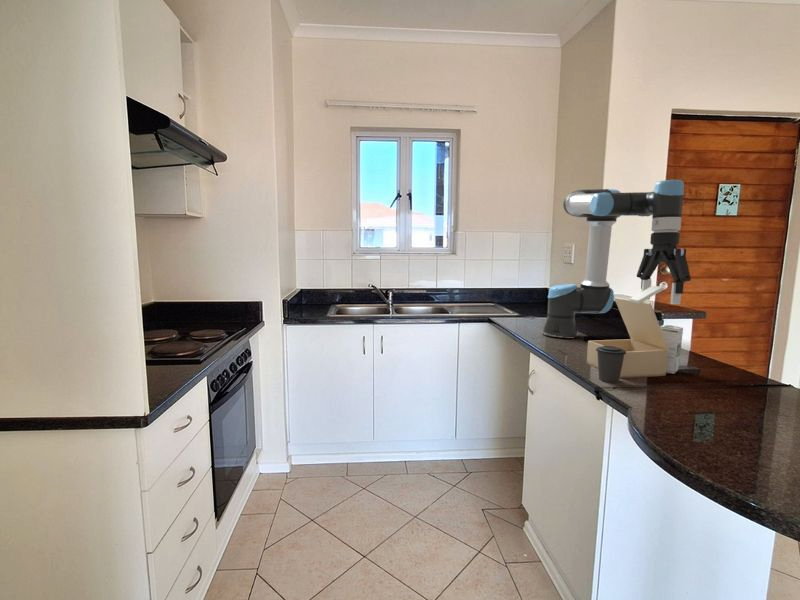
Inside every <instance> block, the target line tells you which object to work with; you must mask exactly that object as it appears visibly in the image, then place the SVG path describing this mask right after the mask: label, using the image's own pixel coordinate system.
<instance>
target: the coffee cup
mask: <svg viewBox="0 0 800 600" xmlns="http://www.w3.org/2000/svg"><path fill="white" fill-rule="evenodd" d="M596 351H597V356H598V368H597V369H598V370H597V371H598V372H597V373H598V379H599V380H600V381H601V382H606V383H611V384H615V383H619V382H620V379H621V378H620V374H621V369H622V364H623V359H624V354H626V352H625V350H623V349H621V348H618V347H613V346H602V347H597V349H596Z"/></svg>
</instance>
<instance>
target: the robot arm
mask: <svg viewBox="0 0 800 600" xmlns="http://www.w3.org/2000/svg"><path fill="white" fill-rule="evenodd" d="M684 185H685V183H684V181H683V180H681V179H665V180H660V181H657V182H656V183H655V185H654V189H653V190H652V191H647V192H645V191H644V192H641V191H638V192H634V191H633V192H621V191H620V190H617V189H613V188H612V189H610V188H603V189H602V188H600V189H599V188H598V189H594V188H593V189H577V190H574V191H572V192H569V194H567V195H566V196H565V198H564V200H563V202H562V206H563V207H562V208H563V210H564V212H565V213H566V214H568V215H569V216H572V217H577V218H586V223H587V224H588V225H589V231H588V232H589V233H588V241H587V242H588V243H587V252H586V263H585V272H584V273H585V275H584V279H583V280H582V281H581V282H580V286H577V284H575V283H569V284H568V283H567V284H556V285H552V286H550V288H549V289H548V295H547V316H546V320H545V323H544V325H543V328H542V333H543V332H545V333H548V334H551V335H556V336H563V337H577V336H578V337H579V330H578V326H577V323H576V320H575V318H576V314H595V315H597V314H605V313H607V312H609V311H610V310H611V308H612V307H613V303H614V301H615V299H614V298H615V295H614V293H615V292H614V290H613V288H612V287H610V283H609V282H608V281H607V277H608V266H609V257H610V248H611V247H610V246H611V238H612V229H613V226H614V224H616V222H617V221H618V220H617V219H618V218H620V217H621V216H629V217H633V216H637V217H650V216H651V217H652V219H651V220H652V221H651V231H652V233H651V234H650V241H649V242H650V245H652V248H644V249H643V256H642V259H641V262H640V263H639V267H638V270H637V273H636V277H637V278H639V279H640V280H641V282H640V289H641V292H642V291H644V290H646V289H648V288H649V287H651V286H652V278H651V277H652V275H653V274H654V272H655V271H656V269H657V267H658V266H659V265H660V264H662V263H664V264H665V265H667V267H668V270H669V272H670V274H671V277H672V278H673V279H672V280H673V281H672V283H671V293H670V305H681V301H682V300H681V299H682V294H683V293H684V284H685V282H690V281H691V280H692V279H691V274H690V270H689V269H690V268H689V265H688V260H687V257H686V256H687V249H686V248H677V246H678V245H679V244H680V239H681V233H680V232H679V231H681V225H682V214H683V205H684V195H685V192H684V191H685V190H684V189H685V187H684ZM647 300H648V301H650V300H651V297H650V298H648V299H646V300H645V301H647ZM578 337H577V338H578Z"/></svg>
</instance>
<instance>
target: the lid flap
mask: <svg viewBox="0 0 800 600" xmlns="http://www.w3.org/2000/svg"><path fill="white" fill-rule="evenodd" d="M664 289H665V288H664V287H663V286H660V285H659V286H658V285H651V287H649V288H648V289H646V290H644V291H642V290H641V292H639V293H637V294H635V295H634V296H631V297H629V298H625V297H624V298H623V297H617V296H614V301H615V304H616V306H617V308H618V311H619V313H620V316H621V318H622V321H623V323H624V325H625V327H626V330H627V333H628V335H629V339H631V340H634V341H638V342H641V343H644V344H648V345H651V346H654V347H658V348H662V349H665V350H668V349H669V348H668V346H667V343H666V341H665V338H664V336H663V333H662V331H661V328H660V326H661V325H660V322H659V321H658V317H657V316H656V313H655V310H654V307H653V305H652V303H651V302H648V301H647V300H646V299H648V298H650V299H651V298H652V297H653V296H655V295H656V294H659V293H660V292H663V291H664Z"/></svg>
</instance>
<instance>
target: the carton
mask: <svg viewBox="0 0 800 600" xmlns="http://www.w3.org/2000/svg"><path fill="white" fill-rule="evenodd" d="M602 346H613V347H618V348H621V349H623V350H625V352H626V354H624V359H623V364H622V369H621V374H620V379H627V378H629V379H630V378H645V377H646V378H648V377H651V378H652V377H665V376H666V375H667V373H666V366H667V354H668V350H664V349H661V348H658V347H655V346H652V345H648V344H645V343H642V342H638V341H635V340H632V339H631V338H627V339H603V340H602V339H601V340H599V339H598V340H588V341H587V352H586V353H587V354H586V364H587V365H588V366H592V367H593V368H595V369H598V356H597V351H596V349H597V347H602Z"/></svg>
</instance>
